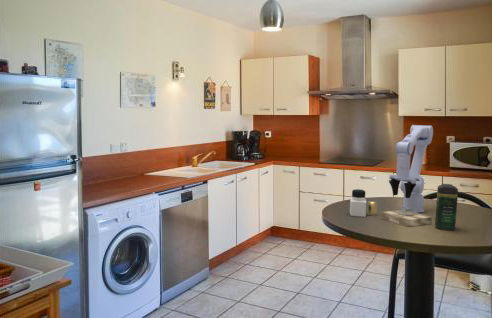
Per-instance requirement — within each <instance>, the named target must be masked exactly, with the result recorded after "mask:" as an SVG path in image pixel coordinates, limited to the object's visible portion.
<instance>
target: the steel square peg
mask: <svg viewBox="0 0 492 318" xmlns="http://www.w3.org/2000/svg"><path fill="white" fill-rule="evenodd" d="M398 210H399V215H403V216H412V212H413V209H412V208H408V207H403V206H402V207H399V208H398Z"/></svg>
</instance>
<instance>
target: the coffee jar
mask: <svg viewBox="0 0 492 318" xmlns="http://www.w3.org/2000/svg"><path fill="white" fill-rule="evenodd" d="M436 188H437V189H436V190H437V191H436V204H435V206H436V207H435V217H434V225H435V227H436V228H437V229H442V230H445V231H449V230H450V231H451V230H455V229H456V223H457V222H456V221H457V211H458V210H457V208H458V199H459V197H458V196H459V195H458V194H459V192H458V191H459V189H458V188H457V186H454V185H453V184H451V183H442V184H440V185H438V186H437V187H436Z"/></svg>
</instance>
